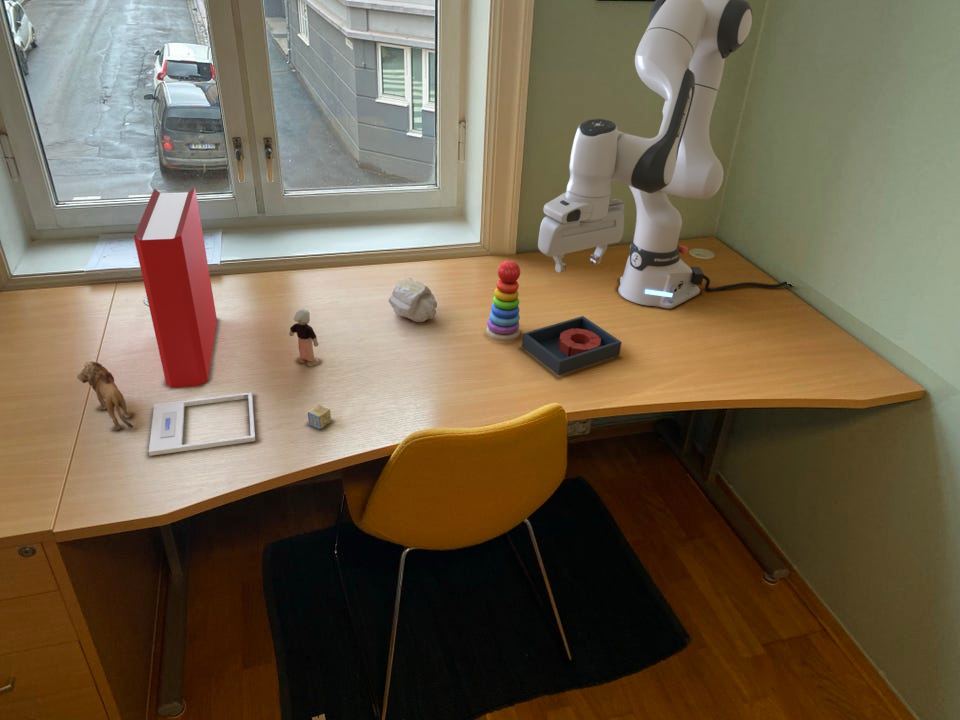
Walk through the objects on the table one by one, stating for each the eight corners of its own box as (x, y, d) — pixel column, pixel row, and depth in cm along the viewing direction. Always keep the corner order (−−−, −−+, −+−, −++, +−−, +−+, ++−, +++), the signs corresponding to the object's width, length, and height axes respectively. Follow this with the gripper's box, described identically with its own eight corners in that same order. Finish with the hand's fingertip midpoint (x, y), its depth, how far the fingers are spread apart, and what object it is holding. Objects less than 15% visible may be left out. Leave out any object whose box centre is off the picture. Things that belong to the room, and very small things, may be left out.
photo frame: (154, 403, 140) (251, 391, 144) (155, 408, 140) (252, 396, 145) (148, 450, 128) (254, 436, 133) (149, 455, 129) (255, 441, 133)
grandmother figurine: (326, 360, 158) (323, 308, 151) (317, 369, 155) (313, 317, 148) (295, 352, 160) (290, 301, 153) (286, 361, 157) (280, 309, 150)
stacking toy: (516, 346, 167) (523, 272, 157) (482, 341, 168) (487, 267, 158) (522, 329, 173) (528, 257, 163) (489, 324, 175) (494, 252, 165)
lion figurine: (82, 403, 141) (70, 364, 136) (109, 392, 144) (98, 353, 139) (120, 436, 133) (109, 396, 128) (148, 423, 136) (138, 383, 132)
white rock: (430, 330, 171) (441, 314, 180) (434, 298, 167) (445, 283, 176) (381, 319, 173) (394, 303, 181) (384, 287, 169) (397, 272, 177)
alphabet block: (308, 424, 139) (307, 411, 137) (319, 416, 141) (318, 403, 139) (320, 430, 137) (319, 417, 136) (331, 422, 140) (330, 409, 138)
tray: (580, 331, 174) (582, 315, 172) (618, 357, 165) (621, 341, 163) (521, 349, 166) (522, 333, 164) (557, 378, 156) (559, 362, 154)
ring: (581, 333, 172) (583, 325, 170) (607, 352, 165) (609, 343, 164) (551, 343, 167) (552, 334, 166) (576, 362, 161) (577, 353, 159)
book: (180, 322, 168) (154, 188, 151) (217, 319, 170) (195, 187, 153) (165, 388, 146) (132, 240, 129) (207, 385, 148) (180, 238, 131)
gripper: (615, 192, 153) (605, 253, 161) (537, 206, 144) (530, 270, 151) (635, 202, 149) (624, 264, 156) (556, 217, 139) (548, 282, 146)
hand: (577, 267), depth 153 cm, fingers open, 8 cm apart
